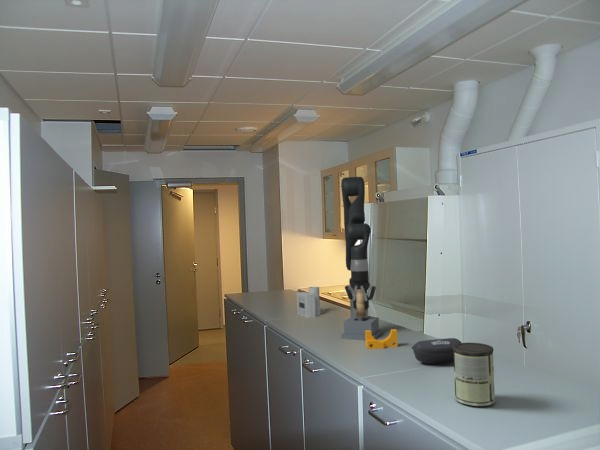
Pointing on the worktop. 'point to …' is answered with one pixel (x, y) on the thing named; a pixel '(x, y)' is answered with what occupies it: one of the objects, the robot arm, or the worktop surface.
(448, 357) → the glasses case
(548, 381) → the worktop surface
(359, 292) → the oak peg
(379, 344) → the pipe clamp
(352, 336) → the socket block
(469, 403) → the coffee can
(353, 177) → the robot arm
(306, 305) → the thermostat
